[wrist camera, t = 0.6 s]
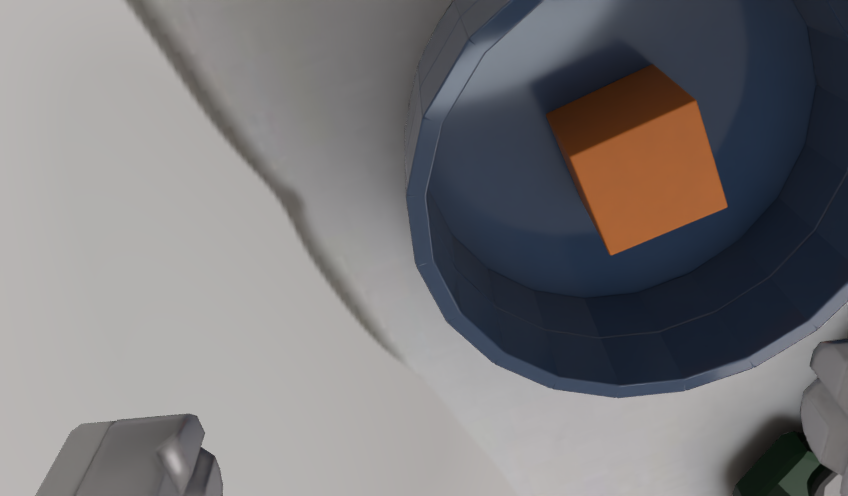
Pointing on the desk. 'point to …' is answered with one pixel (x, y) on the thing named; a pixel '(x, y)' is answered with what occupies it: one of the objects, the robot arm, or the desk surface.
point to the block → (638, 158)
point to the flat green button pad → (789, 472)
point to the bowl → (571, 224)
